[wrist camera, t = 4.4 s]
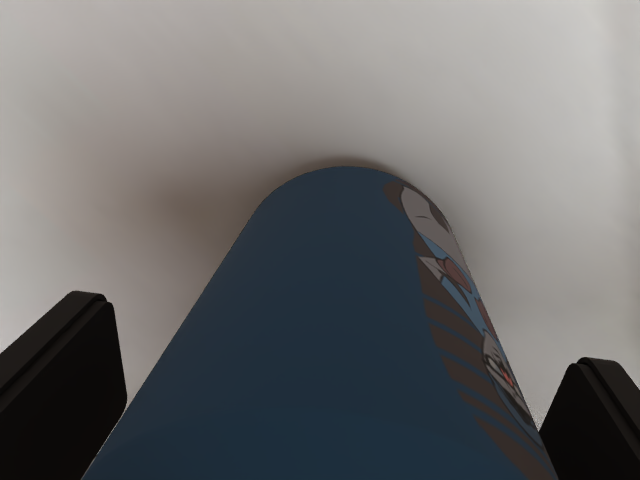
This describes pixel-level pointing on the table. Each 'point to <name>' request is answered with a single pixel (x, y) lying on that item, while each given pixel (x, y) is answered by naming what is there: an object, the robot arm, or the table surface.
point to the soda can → (333, 354)
